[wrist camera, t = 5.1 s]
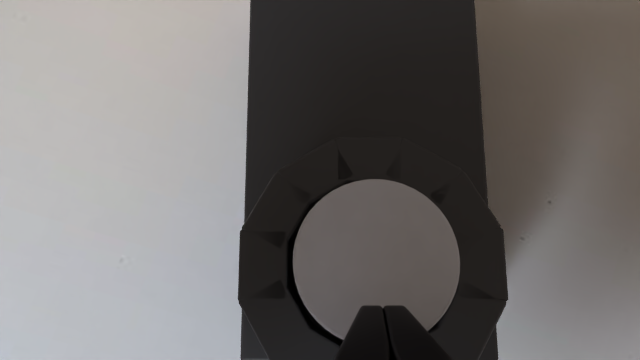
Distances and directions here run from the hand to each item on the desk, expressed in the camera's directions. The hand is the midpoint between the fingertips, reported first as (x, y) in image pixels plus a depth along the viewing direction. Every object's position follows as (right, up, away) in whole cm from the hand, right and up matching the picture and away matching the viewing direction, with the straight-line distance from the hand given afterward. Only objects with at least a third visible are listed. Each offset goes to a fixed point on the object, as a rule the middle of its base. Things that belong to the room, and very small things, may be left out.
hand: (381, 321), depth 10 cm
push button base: (0, +3, +11) cm, 11 cm away
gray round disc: (0, +1, +3) cm, 3 cm away
